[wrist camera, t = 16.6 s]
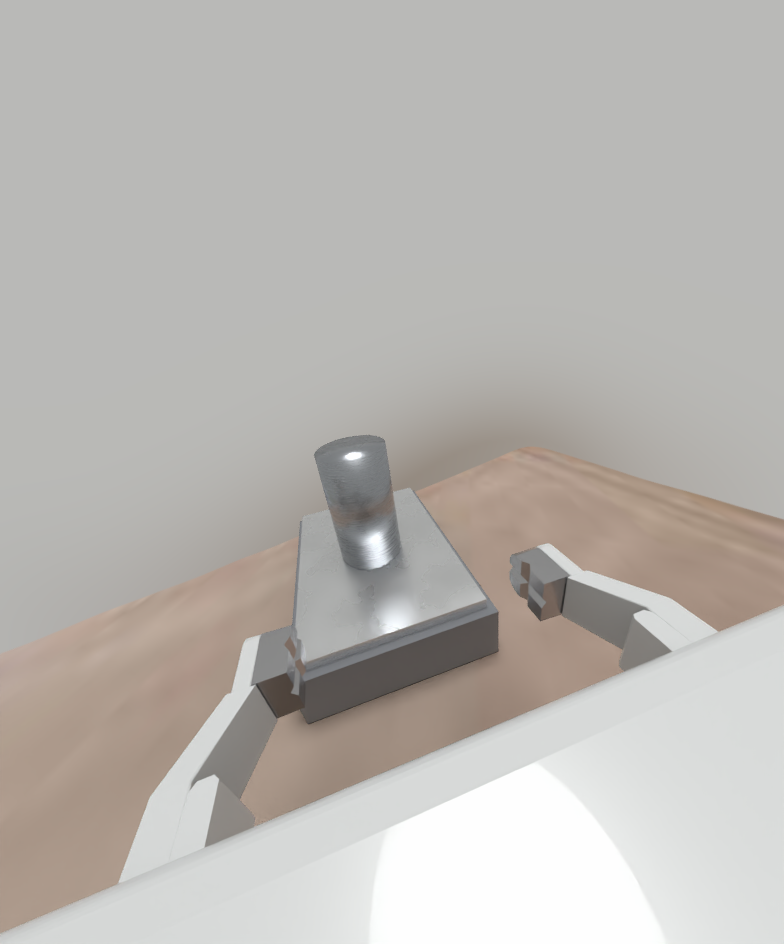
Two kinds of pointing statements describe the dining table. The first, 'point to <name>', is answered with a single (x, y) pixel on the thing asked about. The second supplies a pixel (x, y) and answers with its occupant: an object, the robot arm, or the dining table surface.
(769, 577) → the dining table surface
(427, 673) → the kitchen scale
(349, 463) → the cylinder
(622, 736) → the robot arm
